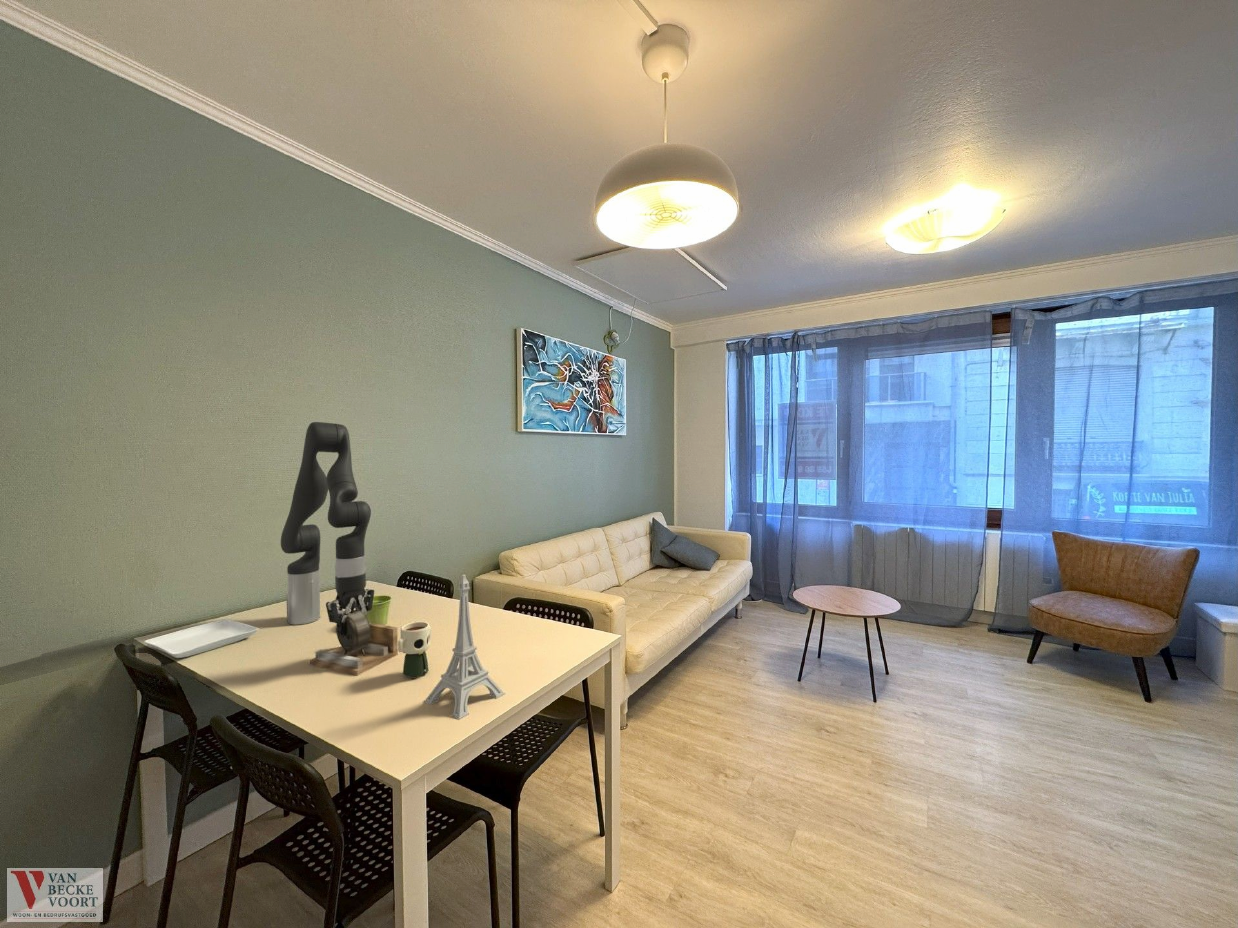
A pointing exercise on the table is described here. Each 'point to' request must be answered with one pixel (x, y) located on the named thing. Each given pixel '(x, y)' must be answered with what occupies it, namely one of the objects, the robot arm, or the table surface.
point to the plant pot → (379, 610)
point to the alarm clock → (355, 632)
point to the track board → (354, 662)
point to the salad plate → (201, 638)
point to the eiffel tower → (463, 663)
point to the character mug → (415, 647)
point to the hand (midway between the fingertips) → (351, 631)
